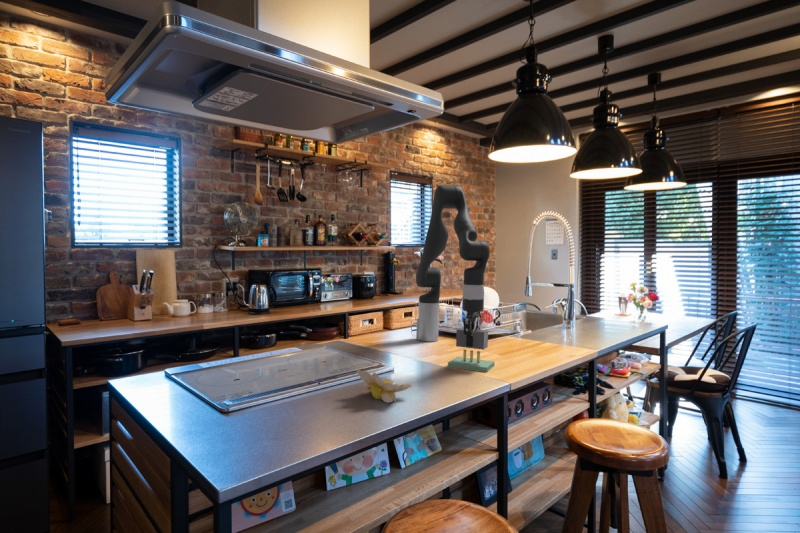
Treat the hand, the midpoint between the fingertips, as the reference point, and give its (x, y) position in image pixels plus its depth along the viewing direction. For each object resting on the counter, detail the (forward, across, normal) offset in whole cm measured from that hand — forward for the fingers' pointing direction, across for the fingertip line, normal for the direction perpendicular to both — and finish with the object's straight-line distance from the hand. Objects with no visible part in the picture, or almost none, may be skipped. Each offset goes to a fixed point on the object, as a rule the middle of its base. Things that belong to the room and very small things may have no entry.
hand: (471, 345), depth 159 cm
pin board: (+7, 0, 0) cm, 7 cm away
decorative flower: (+8, +46, -10) cm, 48 cm away
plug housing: (+1, 0, 0) cm, 1 cm away
